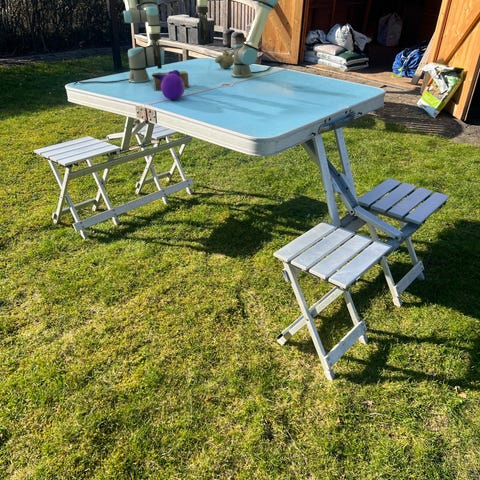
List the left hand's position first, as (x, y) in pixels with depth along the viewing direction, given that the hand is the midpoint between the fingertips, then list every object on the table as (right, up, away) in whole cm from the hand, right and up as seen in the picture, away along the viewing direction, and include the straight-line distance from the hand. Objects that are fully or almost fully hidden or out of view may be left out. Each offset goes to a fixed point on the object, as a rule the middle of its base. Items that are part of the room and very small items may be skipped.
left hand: (158, 67), depth 307 cm
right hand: (+31, +22, +9) cm, 39 cm away
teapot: (+45, +27, +72) cm, 89 cm away
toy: (+11, -26, -17) cm, 33 cm away
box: (+8, -11, +9) cm, 16 cm away
